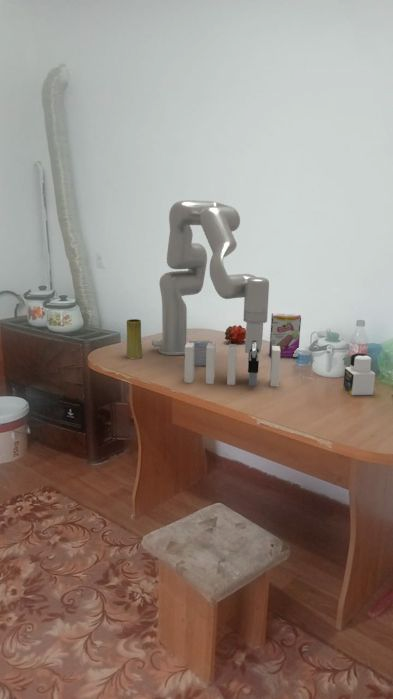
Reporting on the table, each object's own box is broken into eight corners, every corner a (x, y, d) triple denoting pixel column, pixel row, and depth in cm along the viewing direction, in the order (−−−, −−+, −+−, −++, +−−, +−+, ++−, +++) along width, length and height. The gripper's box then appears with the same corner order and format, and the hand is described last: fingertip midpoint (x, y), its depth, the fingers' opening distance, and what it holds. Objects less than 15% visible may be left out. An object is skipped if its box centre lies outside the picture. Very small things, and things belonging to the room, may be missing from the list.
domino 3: (227, 384, 168) (228, 348, 165) (228, 378, 174) (229, 344, 171) (234, 384, 168) (236, 349, 165) (235, 378, 174) (236, 344, 170)
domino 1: (184, 382, 169) (184, 347, 166) (186, 376, 175) (187, 342, 172) (192, 382, 169) (192, 347, 166) (194, 377, 175) (194, 342, 172)
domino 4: (248, 385, 167) (250, 349, 164) (249, 379, 173) (250, 344, 170) (256, 385, 167) (258, 350, 164) (256, 379, 173) (258, 345, 170)
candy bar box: (269, 357, 200) (271, 315, 195) (268, 353, 204) (271, 313, 200) (298, 358, 199) (301, 316, 194) (297, 354, 203) (300, 313, 199)
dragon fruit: (222, 348, 218) (243, 348, 225) (235, 340, 211) (256, 340, 219) (217, 330, 220) (238, 330, 228) (229, 321, 214) (250, 322, 222)
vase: (145, 355, 199) (144, 319, 196) (138, 360, 194) (137, 322, 190) (130, 354, 201) (129, 318, 198) (123, 358, 196) (122, 321, 192)
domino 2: (205, 383, 169) (206, 347, 166) (207, 377, 174) (207, 343, 171) (213, 383, 168) (214, 348, 165) (214, 378, 174) (215, 343, 171)
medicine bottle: (342, 387, 166) (346, 351, 163) (364, 387, 167) (368, 351, 164) (351, 395, 159) (354, 358, 156) (373, 395, 160) (377, 357, 157)
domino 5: (270, 386, 167) (272, 350, 163) (270, 380, 172) (271, 345, 169) (278, 386, 166) (280, 350, 163) (277, 380, 172) (279, 346, 169)
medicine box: (208, 362, 192) (209, 339, 190) (212, 365, 188) (213, 342, 186) (188, 363, 190) (188, 340, 188) (191, 367, 186) (192, 343, 184)
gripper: (244, 310, 173) (242, 359, 178) (243, 321, 156) (240, 375, 161) (266, 311, 172) (264, 360, 177) (268, 322, 156) (265, 376, 160)
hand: (253, 367), depth 169 cm, fingers open, 9 cm apart
